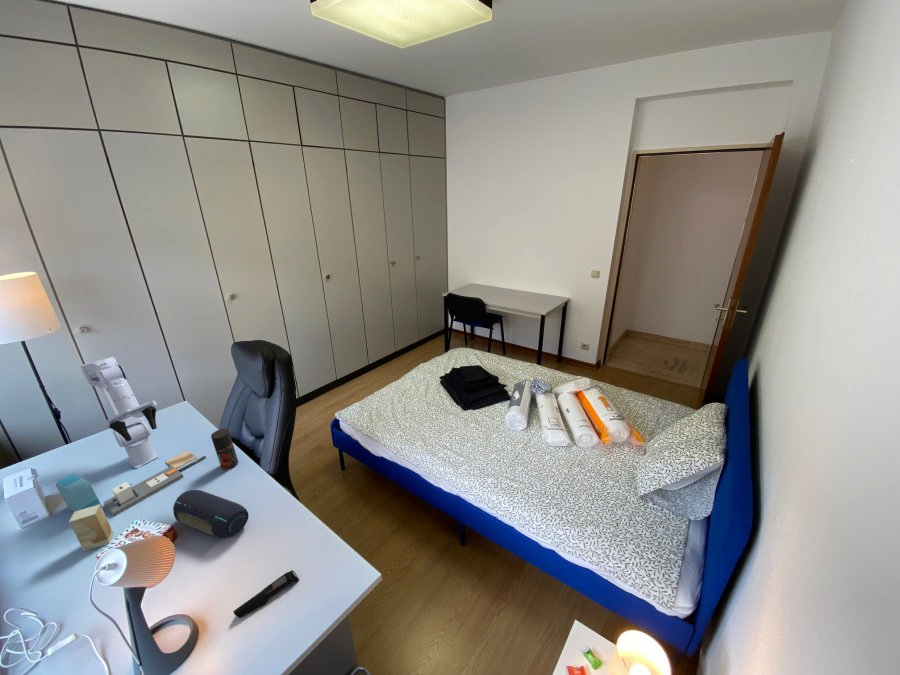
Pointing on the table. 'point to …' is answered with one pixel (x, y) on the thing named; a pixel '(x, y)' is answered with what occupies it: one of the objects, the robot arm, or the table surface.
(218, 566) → the table surface
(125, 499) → the charger plug
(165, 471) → the power strip
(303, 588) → the table surface
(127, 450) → the robot arm
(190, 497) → the portable speaker
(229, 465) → the deodorant
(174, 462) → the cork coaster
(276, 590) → the electric trimmer
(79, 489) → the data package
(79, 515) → the skincare box
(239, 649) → the table surface
